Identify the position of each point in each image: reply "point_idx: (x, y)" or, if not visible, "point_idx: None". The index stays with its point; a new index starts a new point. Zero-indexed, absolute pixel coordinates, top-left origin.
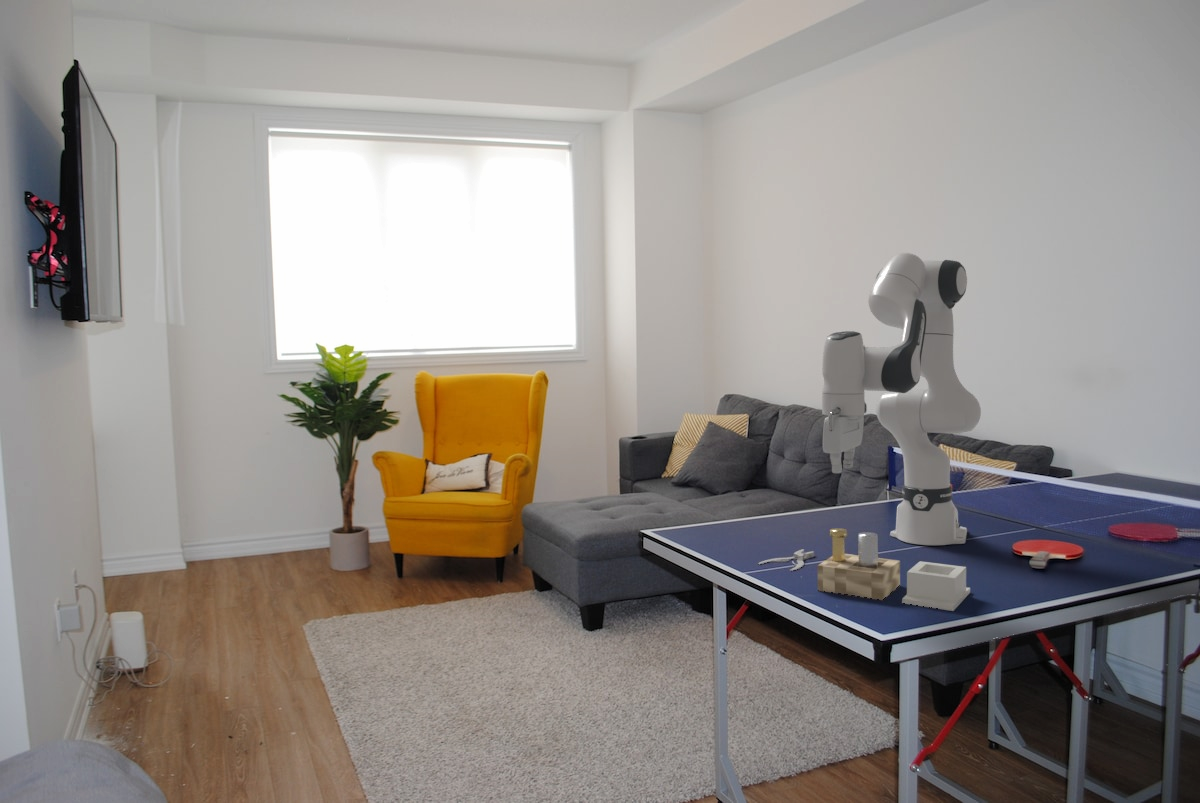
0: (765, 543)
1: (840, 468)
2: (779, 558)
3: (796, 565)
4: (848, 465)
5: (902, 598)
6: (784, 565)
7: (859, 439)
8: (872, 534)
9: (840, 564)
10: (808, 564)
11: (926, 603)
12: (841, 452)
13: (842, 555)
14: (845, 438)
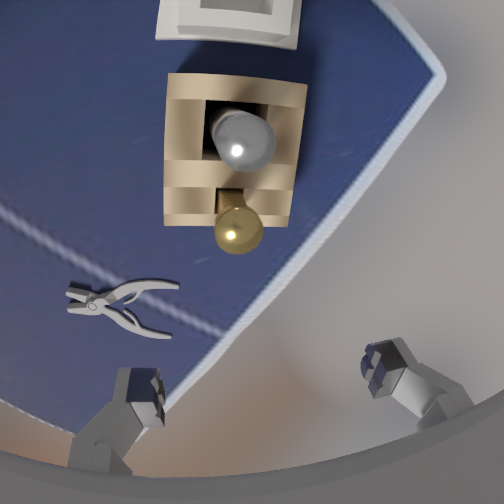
0: (61, 362)
1: (408, 350)
2: (123, 324)
3: (142, 290)
4: (157, 385)
5: (295, 48)
6: (149, 306)
7: (21, 497)
8: (242, 131)
9: (261, 187)
10: (119, 277)
11: (300, 9)
12: (447, 417)
13: (236, 195)
14: (491, 480)
